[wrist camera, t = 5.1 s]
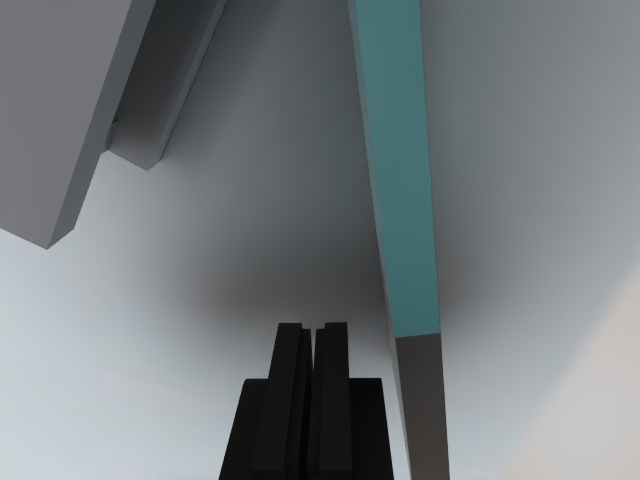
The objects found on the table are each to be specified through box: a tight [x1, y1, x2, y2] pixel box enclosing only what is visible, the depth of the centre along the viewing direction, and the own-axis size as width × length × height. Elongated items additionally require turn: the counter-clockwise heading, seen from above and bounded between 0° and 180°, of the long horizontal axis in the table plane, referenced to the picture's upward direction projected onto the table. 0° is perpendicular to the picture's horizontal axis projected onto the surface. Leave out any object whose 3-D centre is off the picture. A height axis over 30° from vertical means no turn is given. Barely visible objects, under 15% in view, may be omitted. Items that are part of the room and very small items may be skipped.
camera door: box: [347, 0, 450, 480], centre depth 9 cm, size 14×1×4 cm, turn 10°
